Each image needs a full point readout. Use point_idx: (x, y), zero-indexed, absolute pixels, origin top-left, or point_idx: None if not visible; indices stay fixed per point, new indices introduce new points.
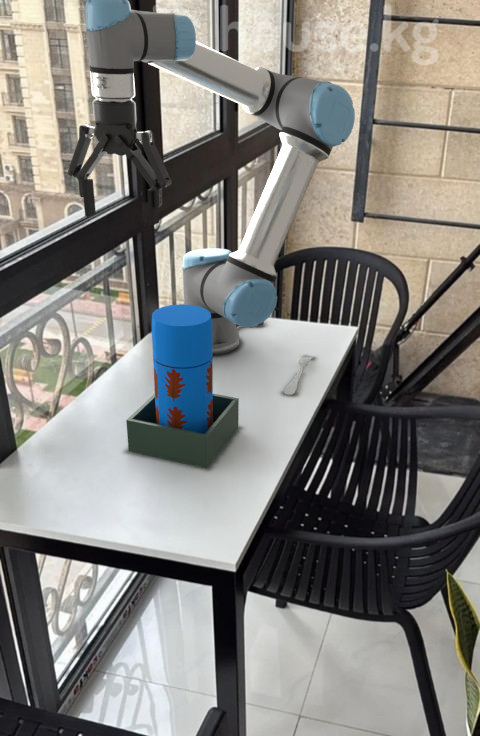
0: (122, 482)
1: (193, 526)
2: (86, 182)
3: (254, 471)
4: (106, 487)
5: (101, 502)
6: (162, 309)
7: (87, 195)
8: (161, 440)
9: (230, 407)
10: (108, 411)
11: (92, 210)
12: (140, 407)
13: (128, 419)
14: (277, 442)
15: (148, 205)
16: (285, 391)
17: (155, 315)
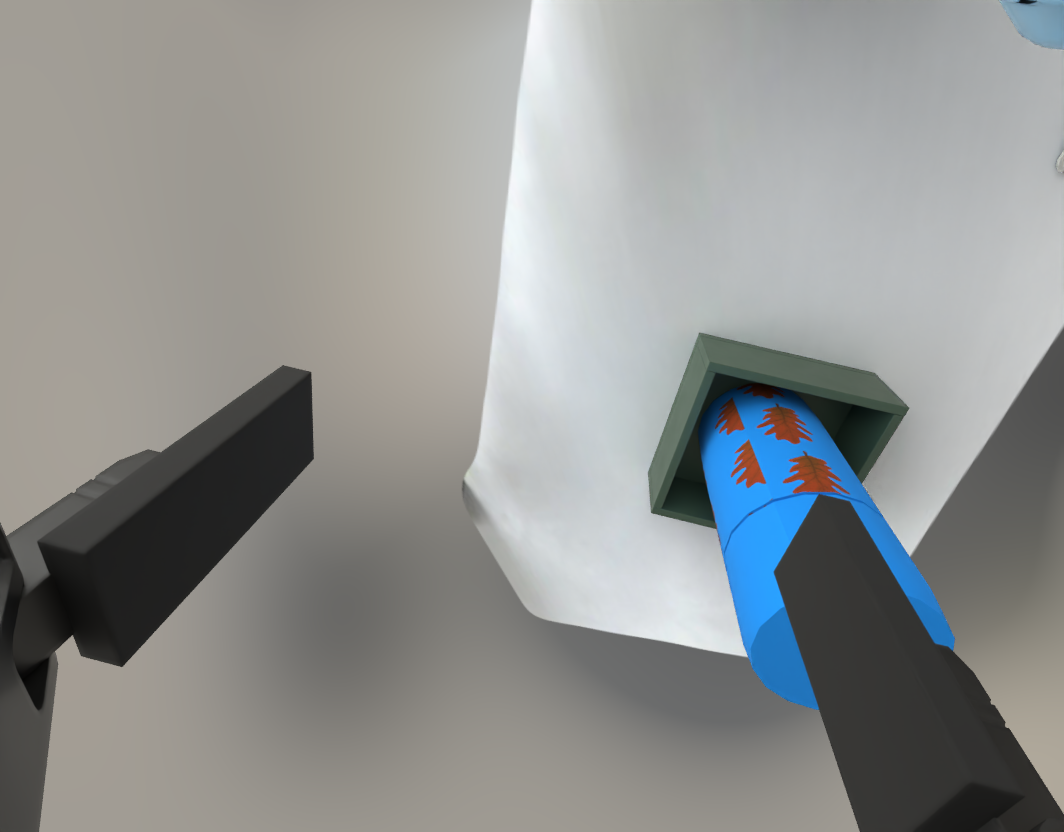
0: (656, 546)
1: None
2: (126, 648)
3: (888, 510)
4: (635, 558)
5: (637, 586)
6: (781, 625)
7: (218, 552)
8: None
9: (881, 450)
10: (571, 341)
11: (294, 426)
12: (670, 468)
13: (654, 511)
14: (960, 417)
15: (819, 702)
16: (1062, 162)
17: (761, 660)
